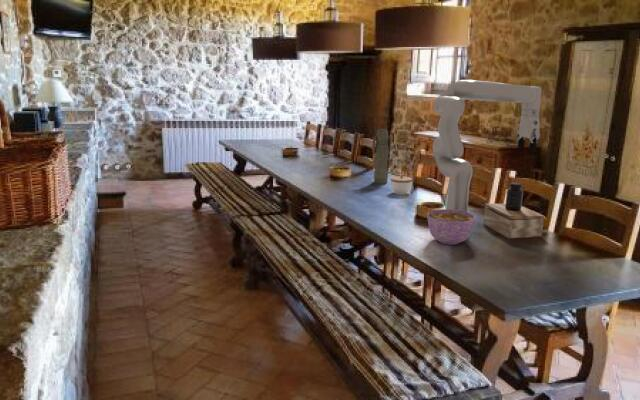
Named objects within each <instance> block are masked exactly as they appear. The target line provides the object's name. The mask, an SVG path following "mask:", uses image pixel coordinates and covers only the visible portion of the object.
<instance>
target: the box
mask: <svg viewBox="0 0 640 400" xmlns="http://www.w3.org/2000/svg"><path fill="white" fill-rule="evenodd" d="M483 225H484V226H486V227H488V228H489V229H492V230H493V231H494V232H497V233H498V234H500V235H502V236H503V237H505V238H507V239H516V238H517V239H518V238H519V239H521V238H532V237H533V238H535V237H542V235H543V227H544V219H509V218H507V217H505V216H503V215H501V214H499V213H497V212H495V211H493V210H491V209H490V208H488V207H484V215H483Z"/></svg>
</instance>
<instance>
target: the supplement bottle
mask: <svg viewBox="0 0 640 400" xmlns="http://www.w3.org/2000/svg"><path fill="white" fill-rule="evenodd" d="M522 186H523V185H522V183H520V182H510V183H509V188H507V190H506V196H505V203H504V204H505V208H506V209H507V210H511V211H520V210H521V206H523V196H524V191H523V189H522Z"/></svg>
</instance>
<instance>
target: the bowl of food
mask: <svg viewBox="0 0 640 400" xmlns="http://www.w3.org/2000/svg"><path fill="white" fill-rule="evenodd" d="M426 217H427V218H426V219H427V224H428V229H429V233H430V234H431V236H432V238H434V239H435V240H436V241H439V243H441V244H444V245H458V244H459V243H462V242H464V241H467V239H468V238H469V237H470V236H471V233H472V230H473V229H474V224H475V223H476V222H475V221H476V219H477V217H476V215H475V214H473V213H471V212H468V211H467V212H465V211H460V210H450V209H445V208H443V209H442V208H441V209H434V210H430V211H428V212H427V213H426Z"/></svg>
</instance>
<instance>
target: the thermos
mask: <svg viewBox="0 0 640 400" xmlns="http://www.w3.org/2000/svg"><path fill="white" fill-rule="evenodd" d="M375 135H376V136H374V137H373V139H372V153H374V158H375V164H374V172H373V179H374V180H373V183H374V184H375V185H376V184H377V185H386V184H388V179H389V178H388V177H389V176H388V175H389V171H388V158H389V154H390V152H391V151H392V150H391V148H392V147H391V145H392V138H391V137H390V136H389V132H388V129H386V128H378V129H377V130H376V134H375Z"/></svg>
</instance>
